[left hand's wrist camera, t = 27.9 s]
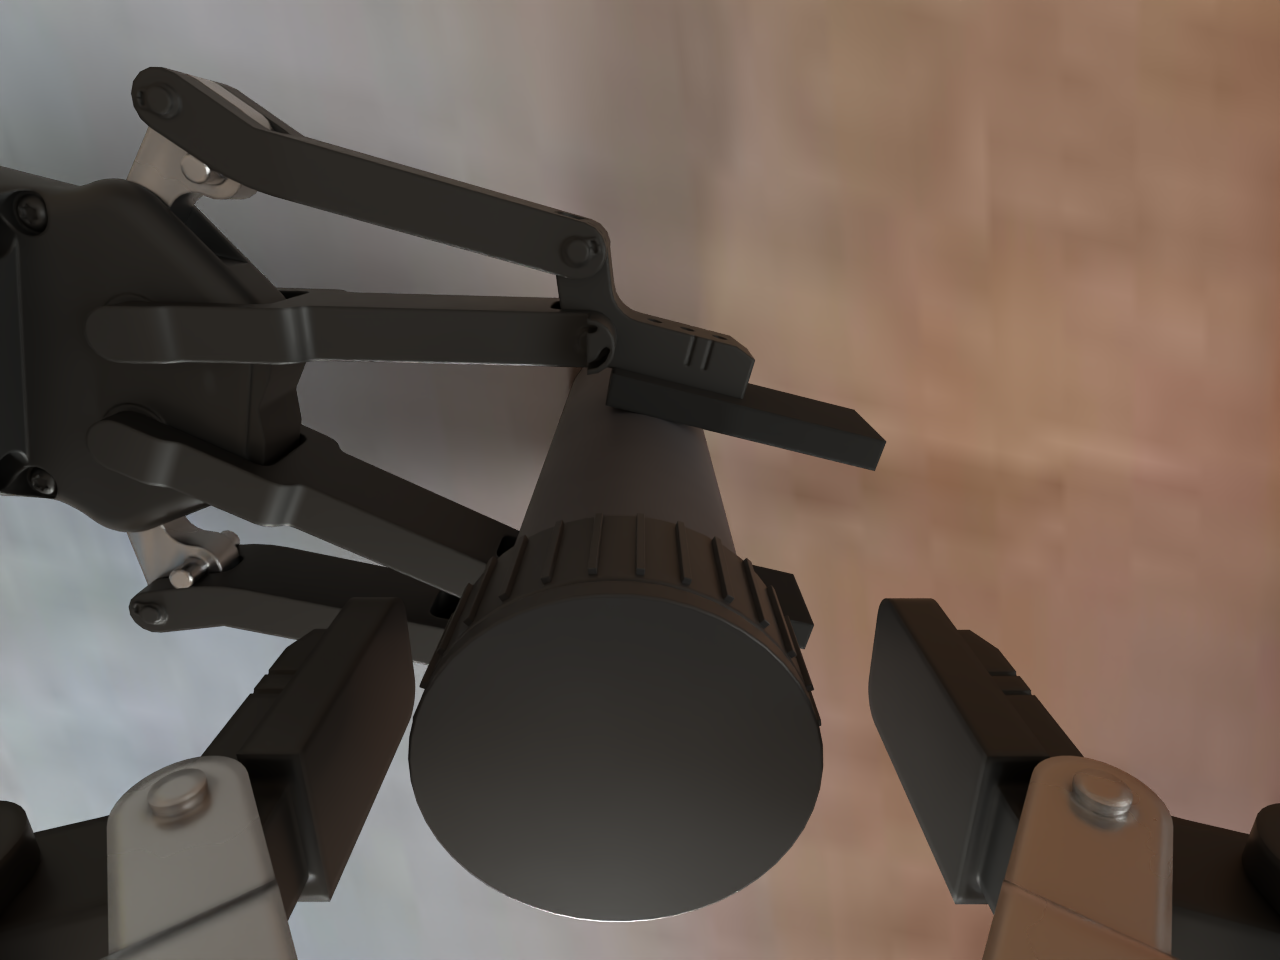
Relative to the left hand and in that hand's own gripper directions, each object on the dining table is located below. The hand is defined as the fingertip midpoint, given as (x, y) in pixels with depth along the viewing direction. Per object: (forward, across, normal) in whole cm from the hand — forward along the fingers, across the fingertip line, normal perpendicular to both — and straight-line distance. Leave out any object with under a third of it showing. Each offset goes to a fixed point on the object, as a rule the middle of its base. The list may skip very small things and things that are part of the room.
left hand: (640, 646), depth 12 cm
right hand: (+7, -5, +1) cm, 9 cm away
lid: (-2, 0, 0) cm, 2 cm away
